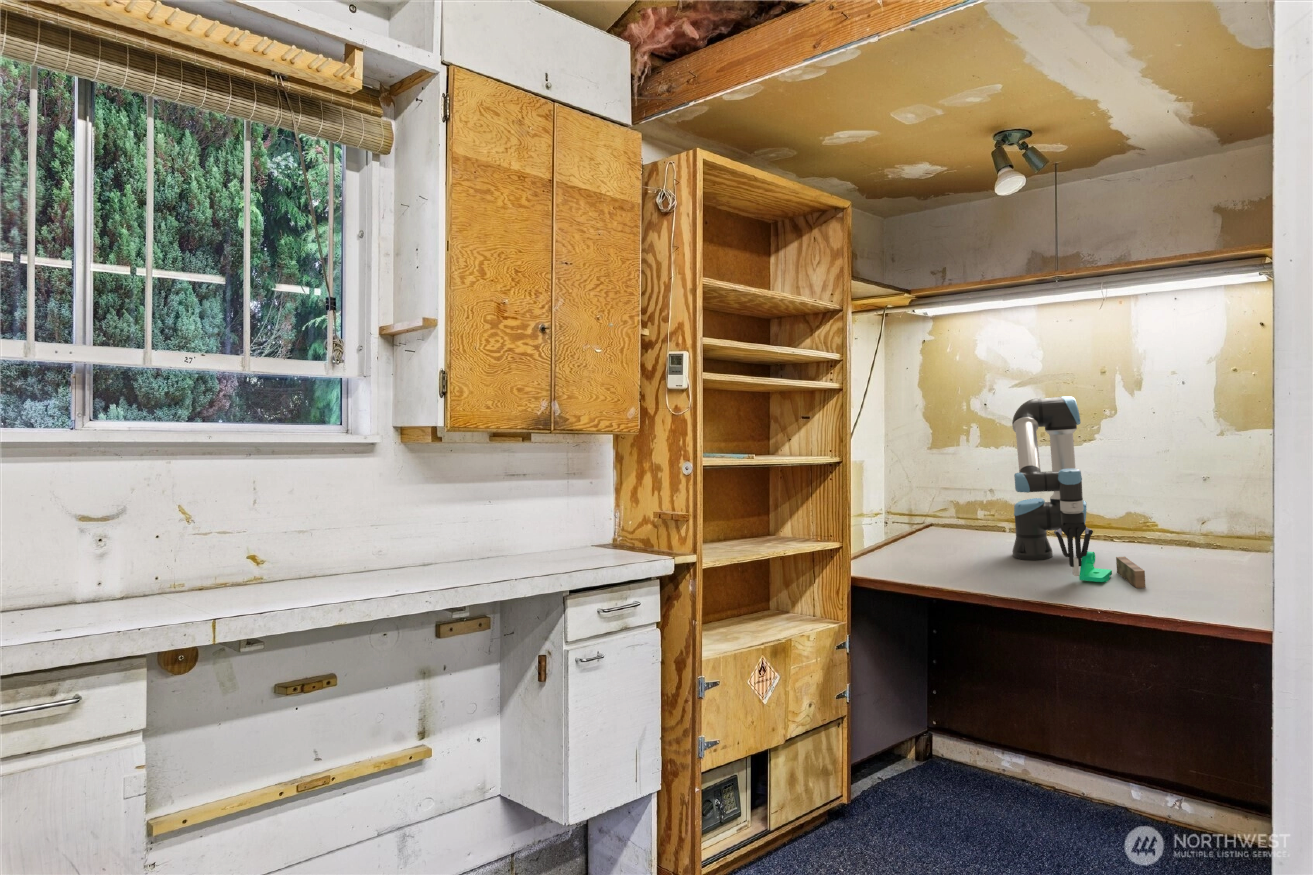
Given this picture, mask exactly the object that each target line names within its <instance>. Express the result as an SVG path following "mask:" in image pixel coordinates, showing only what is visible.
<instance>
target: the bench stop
mask: <svg viewBox="0 0 1313 875" xmlns="http://www.w3.org/2000/svg"><path fill="white" fill-rule="evenodd" d="M1115 561H1116V562H1115V563H1116V574H1118V575H1120V577H1122V579H1124V580H1126V581H1127V582H1128V583H1129V584H1130V585H1132V586H1133V587H1134V588H1136V589H1142V588H1143V589H1144V588H1146V573H1145V572H1146V571H1145V570H1144V569H1143V568H1142V567H1140V566H1139V565H1137V564H1136V563H1134V561H1132V560H1130V559H1129V558H1127V557H1126V556H1116V557H1115Z"/></svg>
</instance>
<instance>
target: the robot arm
mask: <svg viewBox="0 0 1313 875" xmlns="http://www.w3.org/2000/svg"><path fill="white" fill-rule="evenodd" d="M1076 400H1077V399H1075V397H1073V396H1071V395H1070V396H1053V397H1042V398H1032V399H1031V398H1030V399H1029V400H1027V401H1025V402H1024V403H1022V404H1021V405H1020V406H1019V407H1018V408H1017V409H1016V411H1015V413H1014V415H1013V417H1012V422H1011V423H1012V424H1011V425H1012V430H1013V431H1014V433H1015V438H1016V439H1015V441H1016V448H1017V450H1016V451H1017V461H1018V472H1016V473H1014V477H1013V478H1014V489H1015V491H1016V492H1017V493H1026V494H1027V493H1039V492H1041V493H1042V492H1043V493H1044V492H1047V493H1048V492H1053V493H1052V494H1051V495H1050V497H1049V501H1045V499H1044V498H1041V497H1040V498H1039V497H1038V498H1037V497H1035V498H1034V497H1033V498H1028V499H1027V498H1026V499H1023V500H1020V501H1018V502H1016V503H1015V504H1014V506H1013V516H1014V526H1015V540H1014V543H1013V548H1012V557H1013V558H1015V559H1018V560H1025V561H1026V560H1027V561H1039V560H1040V561H1041V560H1047V559H1050V558H1052V557H1053V556H1054V555H1053V554H1054V553H1053V548H1052V546H1051V544H1050V541H1049V539H1048V537H1047V531H1053V534H1054V535H1055V536H1056V537H1057V540H1058V544H1059V546H1060V549H1061V552H1062V555H1063V556H1064V557H1065V558H1068V564H1069V567H1071V568H1072V575H1073V576H1074V577H1079V575H1080V567H1081V565H1082V564H1081V559H1082V557H1083V556H1086V555H1087V551H1088V549H1089V546H1090V541H1091V537H1092V535H1093V533H1094V530H1092V529H1091V528H1088V527H1087V525H1086V520H1087V502H1086V501H1085V499H1084V497H1083V477H1082V476H1083V475H1082V471H1081V470H1080V469H1078V468H1076V458H1075V457H1076V456H1075V443H1074V442H1075V440H1074V434H1075V432H1076V431H1077V430H1078V427H1077V426H1079V425H1081V416H1080V411H1079V408H1078V403H1077V401H1076ZM1039 427H1040V428H1043V427H1044V431H1045V433H1047V434H1048V435H1049V444H1050V445H1049V446H1050V459H1051V470H1050V471H1041V464H1040V463H1041V462H1040V453H1039V444H1038V436H1037V431H1038V429H1039ZM1083 499H1084V500H1083ZM1083 533H1084V537H1083V542H1082V546H1081V539H1082V538H1081V536H1082V535H1083ZM1063 534H1065V536H1066V540H1067V547H1066V545H1065V542H1064V538H1063V536H1062V535H1063ZM1074 543H1075V544H1074ZM1074 548H1075V556H1074ZM1088 552H1089V551H1088Z"/></svg>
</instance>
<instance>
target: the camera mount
mask: <svg viewBox="0 0 1313 875" xmlns="http://www.w3.org/2000/svg"><path fill="white" fill-rule="evenodd" d="M1095 563H1096V553H1095V552H1094V551H1087V555H1086V556H1083V557H1082V558H1081V564H1082V565H1081V566H1079V576H1078V577H1079V581H1087V582H1096V583H1107V582H1108V581H1109V580H1110V579H1111V576H1112V575H1113V570H1112V569H1108V568H1098V567H1097V568H1096V567H1095V566H1094V564H1095Z"/></svg>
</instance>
